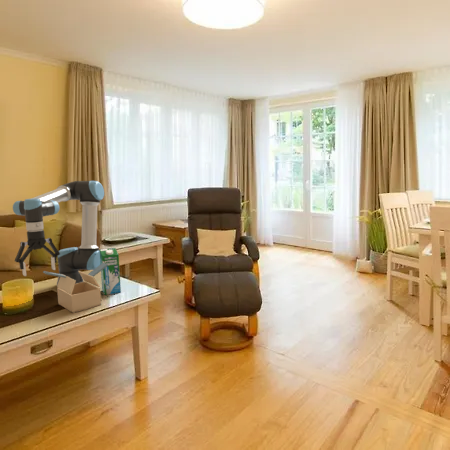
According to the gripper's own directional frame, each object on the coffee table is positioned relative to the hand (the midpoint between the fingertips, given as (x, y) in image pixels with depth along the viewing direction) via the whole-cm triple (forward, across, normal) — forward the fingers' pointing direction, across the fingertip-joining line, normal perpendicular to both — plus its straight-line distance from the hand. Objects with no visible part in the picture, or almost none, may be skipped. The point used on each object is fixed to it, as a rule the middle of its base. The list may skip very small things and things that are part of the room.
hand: (39, 272), depth 180 cm
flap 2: (+8, +22, -5) cm, 24 cm away
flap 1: (+7, +11, -5) cm, 14 cm away
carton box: (+20, +16, -5) cm, 27 cm away
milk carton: (+21, +38, +2) cm, 44 cm away
